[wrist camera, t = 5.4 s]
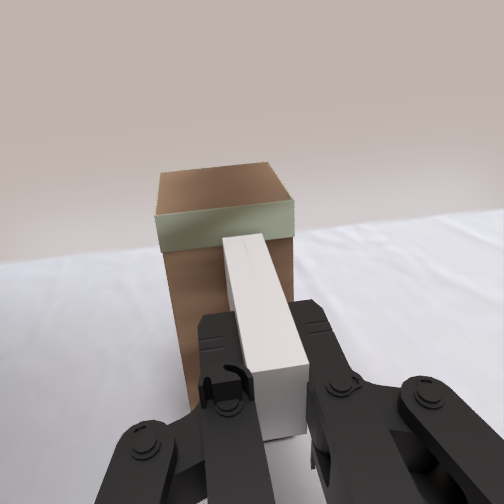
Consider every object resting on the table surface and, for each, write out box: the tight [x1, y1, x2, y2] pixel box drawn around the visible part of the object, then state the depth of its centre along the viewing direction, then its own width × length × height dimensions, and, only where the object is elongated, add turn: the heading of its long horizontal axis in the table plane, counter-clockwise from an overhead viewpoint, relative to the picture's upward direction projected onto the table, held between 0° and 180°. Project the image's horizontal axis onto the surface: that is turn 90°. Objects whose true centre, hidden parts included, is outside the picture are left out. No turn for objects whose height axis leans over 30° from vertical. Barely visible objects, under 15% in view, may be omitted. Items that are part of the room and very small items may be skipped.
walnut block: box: [154, 162, 294, 411], centre depth 21 cm, size 5×5×13 cm
